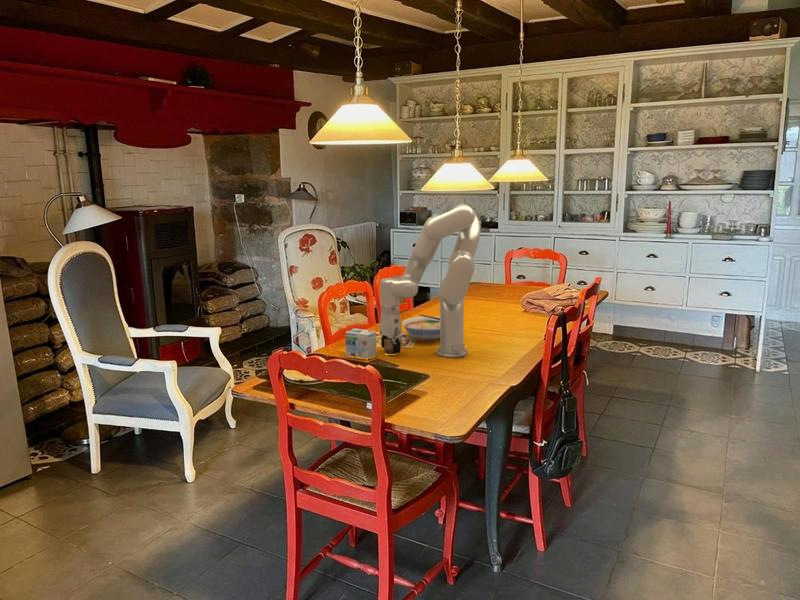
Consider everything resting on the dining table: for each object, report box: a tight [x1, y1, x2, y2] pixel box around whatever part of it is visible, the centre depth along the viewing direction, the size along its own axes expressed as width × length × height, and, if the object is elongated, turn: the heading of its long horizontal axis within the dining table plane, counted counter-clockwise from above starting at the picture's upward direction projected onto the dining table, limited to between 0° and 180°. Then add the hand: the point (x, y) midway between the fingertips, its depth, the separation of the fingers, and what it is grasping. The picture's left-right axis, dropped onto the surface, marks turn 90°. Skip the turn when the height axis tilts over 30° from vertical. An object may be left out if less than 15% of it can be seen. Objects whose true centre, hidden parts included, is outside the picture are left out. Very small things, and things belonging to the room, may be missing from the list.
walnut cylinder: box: [383, 338, 397, 354], centre depth 240 cm, size 6×6×6 cm
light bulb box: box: [345, 327, 377, 358], centre depth 236 cm, size 11×7×11 cm, turn 62°
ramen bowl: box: [401, 314, 440, 341], centre depth 261 cm, size 25×23×8 cm
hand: (390, 350), depth 240 cm, fingers open, 9 cm apart
